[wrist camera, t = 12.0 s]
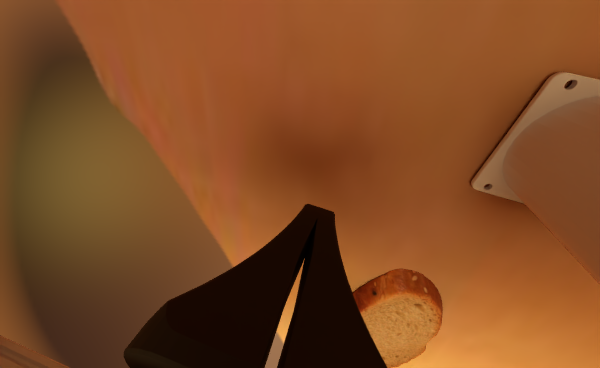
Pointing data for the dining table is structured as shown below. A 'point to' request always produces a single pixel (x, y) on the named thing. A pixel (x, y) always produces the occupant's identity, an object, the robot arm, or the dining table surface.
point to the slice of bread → (400, 314)
